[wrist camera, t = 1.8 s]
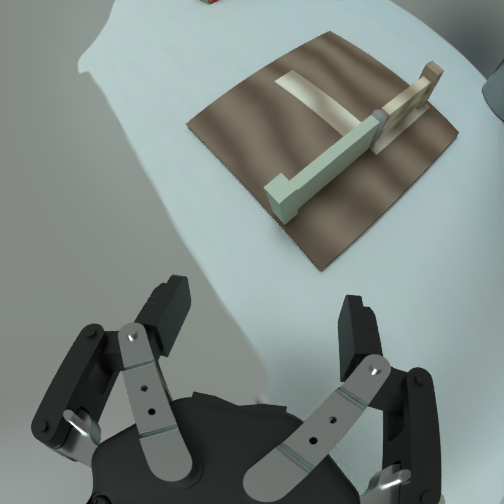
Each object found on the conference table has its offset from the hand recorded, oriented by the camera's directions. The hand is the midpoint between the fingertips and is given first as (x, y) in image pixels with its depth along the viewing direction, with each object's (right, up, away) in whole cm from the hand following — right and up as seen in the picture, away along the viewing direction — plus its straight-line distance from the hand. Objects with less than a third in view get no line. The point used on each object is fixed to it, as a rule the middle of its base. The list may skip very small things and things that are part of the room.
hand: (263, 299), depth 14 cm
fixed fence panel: (+20, +21, +17) cm, 33 cm away
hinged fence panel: (+9, +11, +17) cm, 22 cm away
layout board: (+10, +20, +19) cm, 30 cm away
